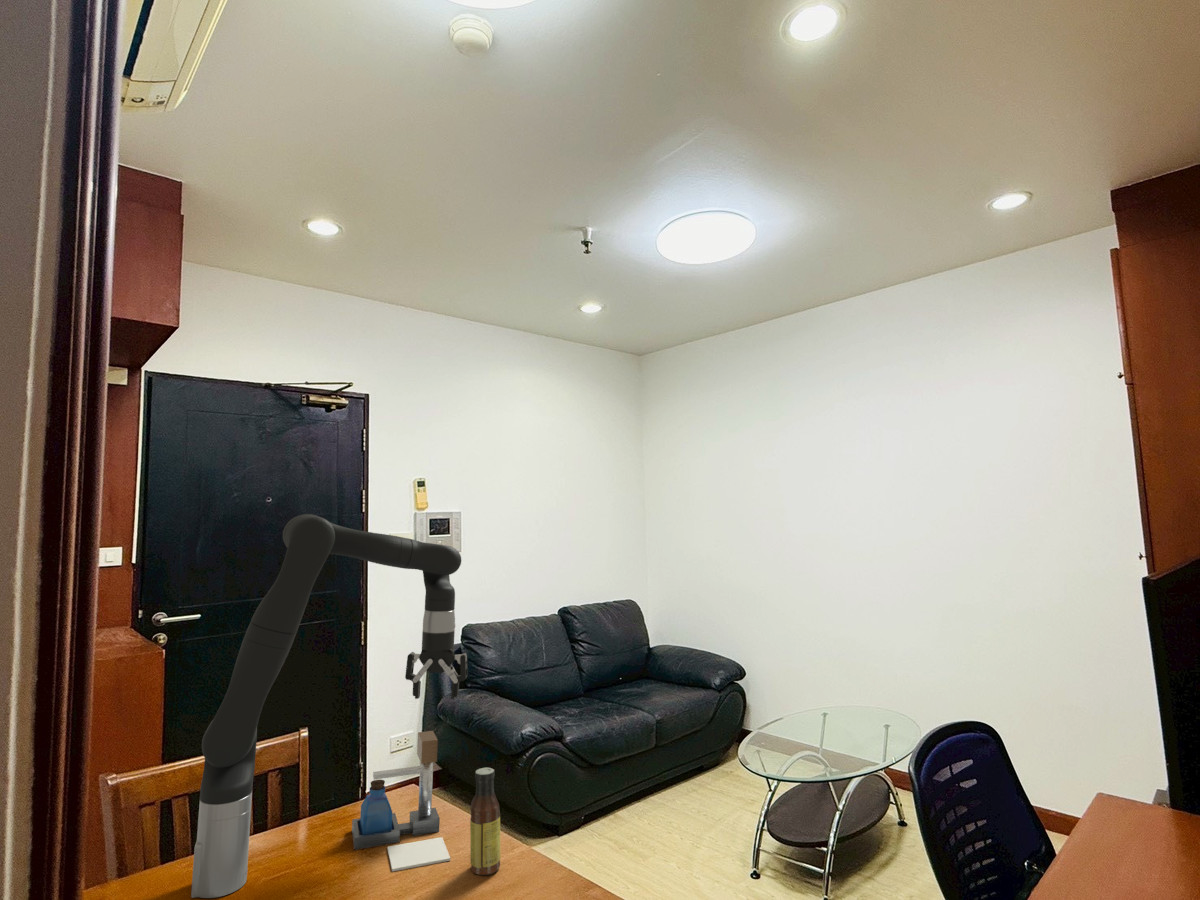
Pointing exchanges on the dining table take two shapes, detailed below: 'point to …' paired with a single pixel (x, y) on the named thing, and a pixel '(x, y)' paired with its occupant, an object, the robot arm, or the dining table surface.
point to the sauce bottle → (485, 825)
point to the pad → (417, 854)
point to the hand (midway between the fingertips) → (435, 698)
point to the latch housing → (396, 830)
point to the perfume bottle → (376, 810)
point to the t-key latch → (419, 770)
